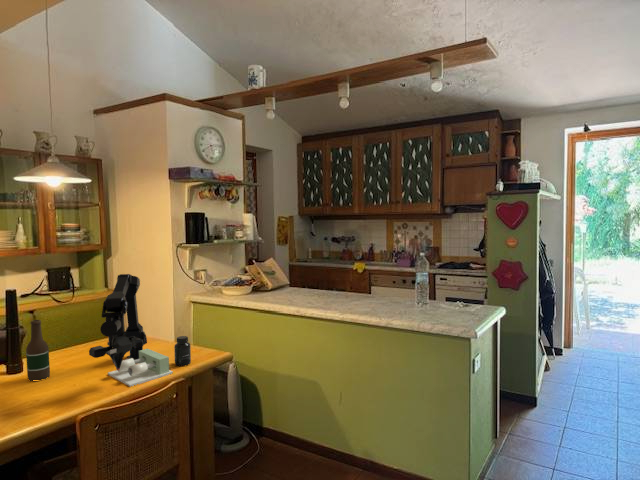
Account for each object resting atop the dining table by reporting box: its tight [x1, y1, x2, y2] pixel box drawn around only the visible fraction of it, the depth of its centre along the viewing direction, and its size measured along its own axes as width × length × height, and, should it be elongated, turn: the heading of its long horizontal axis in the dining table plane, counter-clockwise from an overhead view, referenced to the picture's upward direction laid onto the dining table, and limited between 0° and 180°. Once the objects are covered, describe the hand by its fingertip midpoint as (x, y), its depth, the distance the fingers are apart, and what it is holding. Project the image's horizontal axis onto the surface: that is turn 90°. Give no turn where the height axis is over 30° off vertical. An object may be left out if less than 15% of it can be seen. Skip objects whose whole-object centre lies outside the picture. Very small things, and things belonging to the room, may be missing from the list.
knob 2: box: [128, 362, 156, 376], centre depth 178 cm, size 12×4×4 cm, turn 139°
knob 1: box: [115, 357, 146, 372], centre depth 183 cm, size 12×4×4 cm, turn 139°
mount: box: [107, 348, 174, 388], centre depth 181 cm, size 20×18×7 cm
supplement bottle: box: [173, 335, 192, 367], centre depth 193 cm, size 7×7×12 cm
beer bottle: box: [25, 319, 51, 382], centre depth 178 cm, size 8×8×24 cm
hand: (118, 368), depth 170 cm, fingers closed
